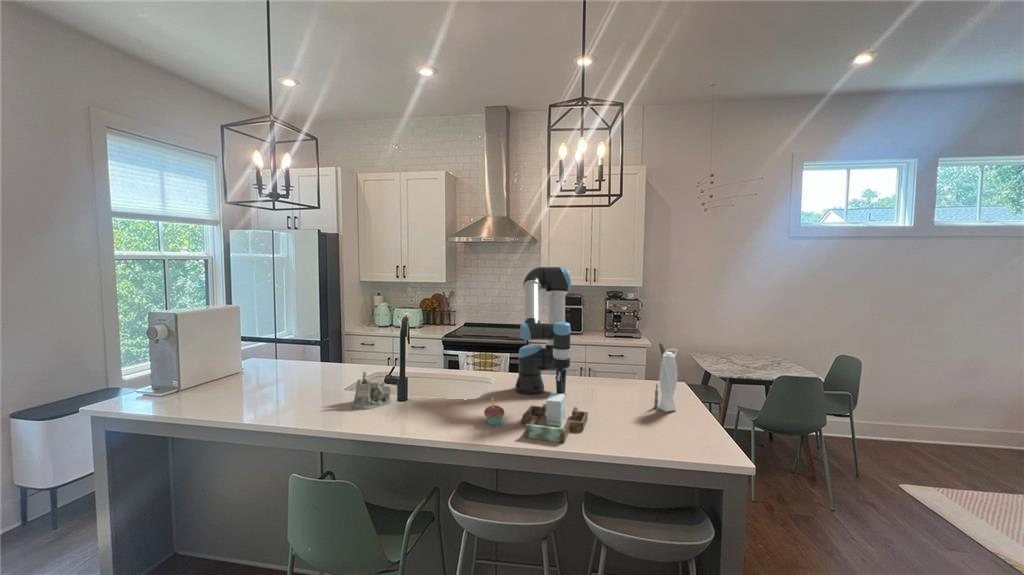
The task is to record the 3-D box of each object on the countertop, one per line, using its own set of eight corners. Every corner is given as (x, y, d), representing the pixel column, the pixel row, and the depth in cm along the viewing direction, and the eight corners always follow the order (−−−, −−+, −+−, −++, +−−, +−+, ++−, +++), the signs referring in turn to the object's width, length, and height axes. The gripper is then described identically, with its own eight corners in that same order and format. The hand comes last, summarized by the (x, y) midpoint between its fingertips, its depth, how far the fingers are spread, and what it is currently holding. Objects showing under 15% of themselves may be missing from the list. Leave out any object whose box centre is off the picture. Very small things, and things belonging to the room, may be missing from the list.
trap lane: (512, 435, 166) (513, 423, 166) (533, 410, 195) (533, 399, 195) (577, 445, 159) (577, 431, 158) (588, 416, 187) (589, 405, 187)
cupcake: (499, 428, 174) (499, 399, 173) (480, 425, 177) (480, 396, 176) (507, 420, 182) (507, 392, 181) (488, 417, 185) (488, 390, 184)
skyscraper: (668, 405, 202) (670, 347, 200) (680, 411, 195) (682, 350, 193) (653, 407, 200) (655, 347, 198) (664, 413, 192) (666, 351, 190)
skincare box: (551, 415, 188) (551, 392, 187) (565, 417, 186) (566, 393, 185) (545, 424, 178) (546, 399, 177) (561, 426, 176) (561, 401, 175)
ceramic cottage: (346, 409, 194) (349, 376, 193) (364, 398, 210) (366, 368, 209) (379, 413, 192) (381, 379, 191) (394, 402, 208) (396, 371, 207)
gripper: (567, 361, 182) (566, 416, 183) (572, 355, 194) (571, 406, 196) (549, 360, 184) (549, 414, 185) (556, 353, 196) (555, 404, 198)
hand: (560, 410), depth 191 cm, fingers closed
